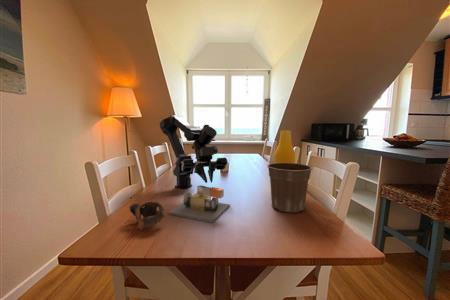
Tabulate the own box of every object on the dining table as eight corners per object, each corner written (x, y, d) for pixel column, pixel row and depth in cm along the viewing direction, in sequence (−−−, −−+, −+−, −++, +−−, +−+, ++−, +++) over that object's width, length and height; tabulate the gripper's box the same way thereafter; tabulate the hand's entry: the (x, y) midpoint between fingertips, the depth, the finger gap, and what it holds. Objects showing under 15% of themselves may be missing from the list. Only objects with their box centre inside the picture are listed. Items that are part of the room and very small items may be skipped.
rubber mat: (169, 214, 73) (169, 211, 73) (191, 200, 87) (191, 198, 87) (212, 222, 67) (212, 220, 67) (229, 206, 81) (229, 204, 81)
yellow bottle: (271, 194, 95) (273, 130, 91) (274, 189, 103) (276, 130, 100) (292, 197, 91) (295, 131, 88) (294, 191, 100) (297, 130, 96)
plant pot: (263, 199, 89) (264, 161, 87) (301, 199, 89) (303, 162, 87) (270, 215, 73) (271, 170, 71) (317, 216, 73) (319, 170, 71)
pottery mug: (169, 218, 71) (170, 202, 67) (155, 242, 64) (154, 227, 59) (138, 207, 73) (136, 191, 68) (120, 230, 65) (116, 213, 60)
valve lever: (195, 193, 76) (195, 186, 75) (199, 191, 78) (199, 184, 78) (220, 198, 71) (220, 190, 70) (224, 196, 73) (224, 188, 73)
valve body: (183, 207, 77) (182, 192, 76) (190, 203, 82) (190, 189, 81) (212, 213, 72) (212, 197, 72) (218, 208, 77) (218, 193, 76)
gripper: (182, 139, 82) (189, 173, 73) (226, 138, 89) (237, 169, 80) (179, 156, 90) (184, 188, 81) (219, 154, 97) (228, 183, 88)
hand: (209, 182), depth 83 cm, fingers closed
